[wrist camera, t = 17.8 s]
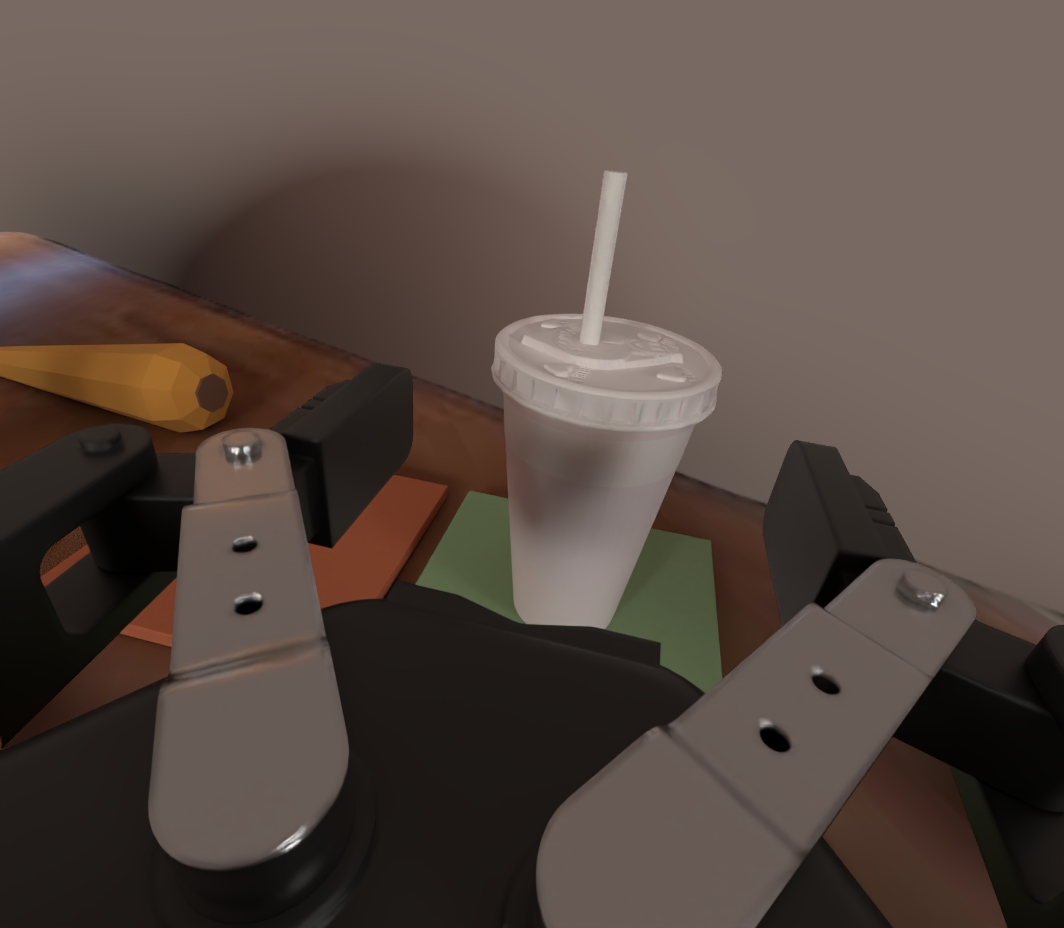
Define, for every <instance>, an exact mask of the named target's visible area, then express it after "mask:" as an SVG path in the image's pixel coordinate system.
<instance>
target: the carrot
mask: <svg viewBox="0 0 1064 928" xmlns="http://www.w3.org/2000/svg"><path fill="white" fill-rule="evenodd" d="M0 377H3V378H6V379H9V380H12V381H15V382H18V383H22V384H25V385H28V386H31V387H34V388H38V389H41V390H44V391H47V392H51V393H54V394H57V395H60V396H63V397H67V398H70V399H73V400H76V401H79V402H83V403H86V404H89V405H92V406H96V407H99V408H102V409H105V410H108V411H112V412H115V413H118V414H121V415H124V416H128V417H131V418H134V419H137V420H141V421H144V422H147V423H150V424H153V425H157V426H160V427H163V428H166V429H170V430H173V431H176V432H179V433H182V432H190V431H197V430H203V429H205V428H207V427H208V426H210V425H212V424H214V423H216V422H218V421H220V420H221V419H223V418H224V417H225V414H226V412H227V409H228V406H229V404H230V401H231V398H232V395H233V393H234V392H233V389H232V385H231V381H230V378H229V374H228V370H227V367H226V366H225V365H224V364H222V363H220V362H219V361H217V360H216V359H214V358H212V357H211V356H209V355H207V354H206V353H204V352H202V351H199V350H197V349H195V348H193V347H190V346H188V345H186V344H184V343H170V344H112V345H55V346H5V347H0Z"/></svg>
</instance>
